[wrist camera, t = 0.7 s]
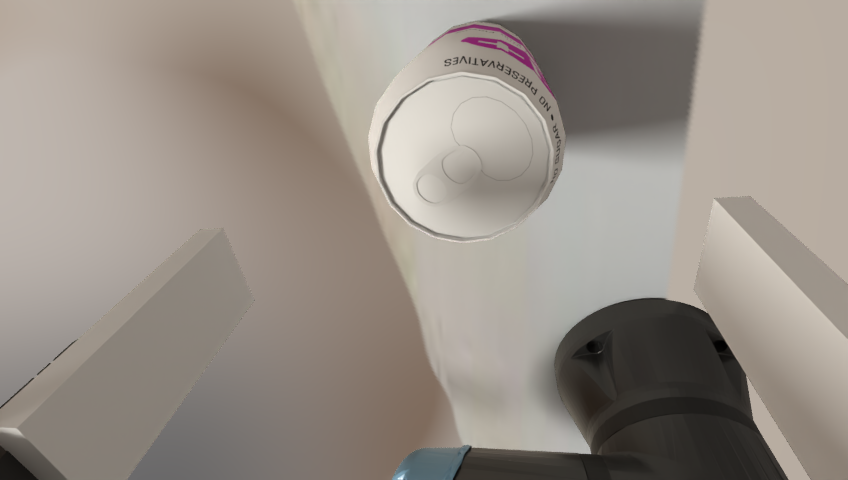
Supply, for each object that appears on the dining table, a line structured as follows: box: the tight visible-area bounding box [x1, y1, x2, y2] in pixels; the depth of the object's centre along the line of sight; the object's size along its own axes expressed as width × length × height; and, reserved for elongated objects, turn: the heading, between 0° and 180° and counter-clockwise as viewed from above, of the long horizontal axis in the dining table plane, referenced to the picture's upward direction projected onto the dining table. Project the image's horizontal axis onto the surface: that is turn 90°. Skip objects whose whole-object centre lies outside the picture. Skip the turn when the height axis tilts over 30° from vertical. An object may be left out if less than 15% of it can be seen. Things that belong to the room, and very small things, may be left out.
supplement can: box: [368, 21, 566, 243], centre depth 23 cm, size 8×8×15 cm
